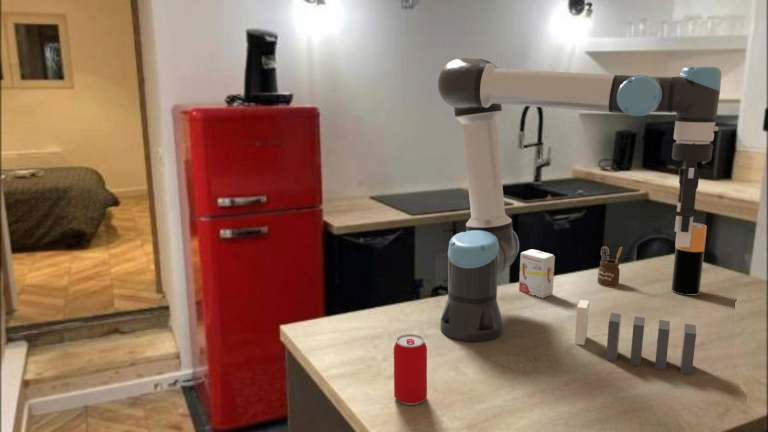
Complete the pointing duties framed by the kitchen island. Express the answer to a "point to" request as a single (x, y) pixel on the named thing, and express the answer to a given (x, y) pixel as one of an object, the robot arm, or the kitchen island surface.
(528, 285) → the ink box
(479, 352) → the kitchen island surface
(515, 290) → the kitchen island surface
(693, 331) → the domino
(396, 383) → the beverage can
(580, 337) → the domino ivory
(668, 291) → the kitchen island surface
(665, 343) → the domino
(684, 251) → the battery
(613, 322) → the domino
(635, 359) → the domino
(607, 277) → the utensil holder
